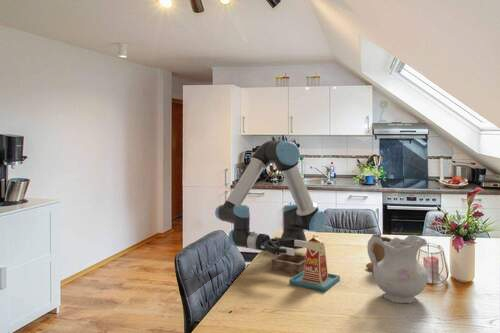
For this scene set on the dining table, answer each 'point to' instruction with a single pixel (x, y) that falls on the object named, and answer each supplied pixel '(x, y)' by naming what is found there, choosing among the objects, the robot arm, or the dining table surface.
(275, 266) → the holder
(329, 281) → the tray
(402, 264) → the ceramic pitcher
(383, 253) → the stone cup
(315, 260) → the milk carton
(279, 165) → the robot arm
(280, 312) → the dining table surface
